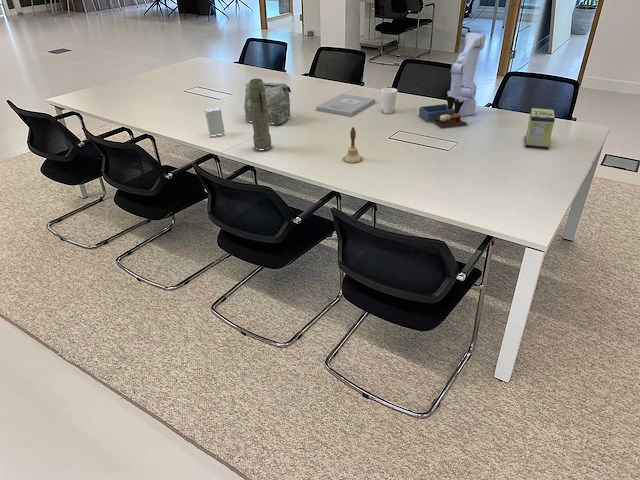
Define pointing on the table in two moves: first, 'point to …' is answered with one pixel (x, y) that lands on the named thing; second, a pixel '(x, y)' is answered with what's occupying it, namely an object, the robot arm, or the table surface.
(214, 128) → the cosmetic box
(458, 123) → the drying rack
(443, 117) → the bottle brush
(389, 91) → the foam cup
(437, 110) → the wash tub
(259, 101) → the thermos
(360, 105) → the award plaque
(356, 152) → the hand bell
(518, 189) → the table surface
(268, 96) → the lunch bag
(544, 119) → the protein box
